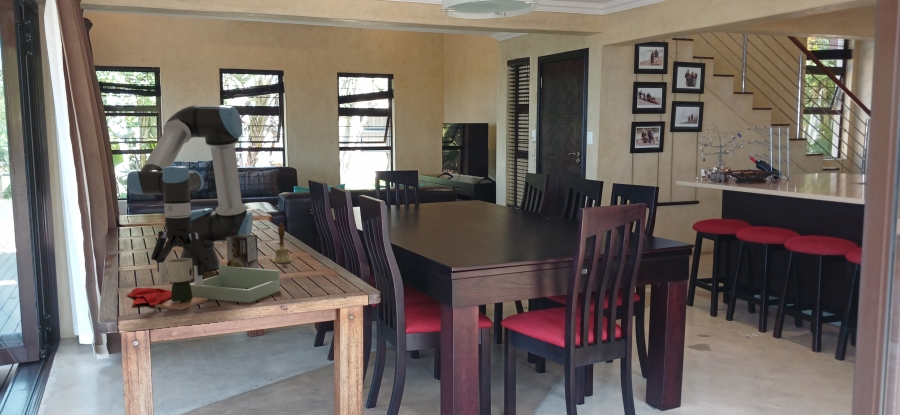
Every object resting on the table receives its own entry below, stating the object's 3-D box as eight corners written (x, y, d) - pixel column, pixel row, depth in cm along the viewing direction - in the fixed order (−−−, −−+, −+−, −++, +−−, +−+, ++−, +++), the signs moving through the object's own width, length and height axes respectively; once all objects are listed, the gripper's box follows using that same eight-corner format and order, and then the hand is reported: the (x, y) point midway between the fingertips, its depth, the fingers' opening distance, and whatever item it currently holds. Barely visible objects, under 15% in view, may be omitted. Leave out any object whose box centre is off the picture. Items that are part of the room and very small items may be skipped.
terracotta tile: (154, 307, 206) (154, 304, 206) (182, 297, 217) (182, 295, 217) (181, 309, 202) (181, 307, 202) (208, 300, 214) (208, 298, 214)
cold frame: (187, 296, 219) (186, 275, 218) (221, 285, 235) (220, 265, 234) (248, 302, 211) (248, 280, 210) (280, 290, 227) (279, 270, 226)
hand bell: (268, 262, 277) (266, 223, 275) (280, 258, 284) (279, 221, 282) (284, 263, 274) (283, 225, 272) (296, 260, 281) (295, 222, 279)
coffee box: (259, 278, 246) (258, 234, 245) (248, 282, 240) (247, 237, 238) (238, 276, 249) (236, 233, 247) (227, 280, 243) (225, 236, 241)
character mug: (197, 303, 207) (194, 261, 205) (172, 306, 203) (169, 264, 202) (191, 295, 216) (188, 256, 215) (167, 298, 213) (165, 258, 211)
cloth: (180, 301, 209) (180, 294, 208) (131, 308, 202) (131, 300, 202) (170, 287, 231) (169, 280, 231) (125, 292, 224) (125, 286, 224)
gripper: (136, 216, 207) (140, 283, 210) (202, 219, 199) (205, 289, 201) (155, 213, 214) (158, 278, 217) (219, 216, 206) (222, 284, 208)
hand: (181, 284), depth 209 cm, fingers open, 13 cm apart
